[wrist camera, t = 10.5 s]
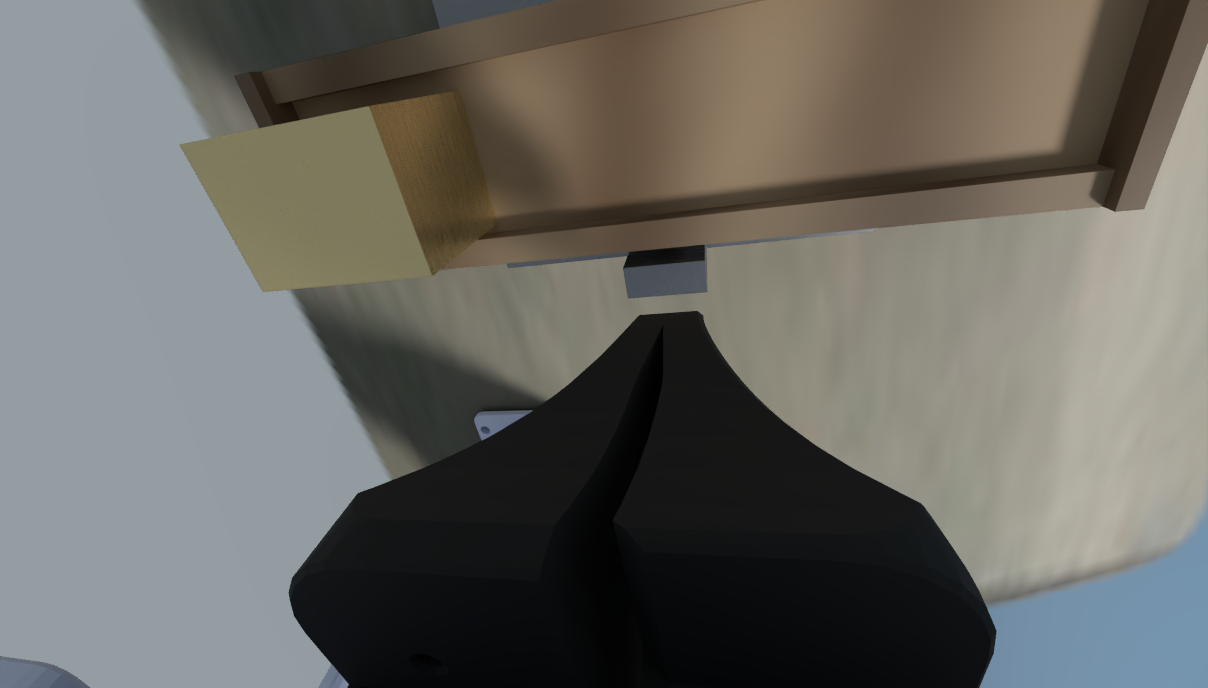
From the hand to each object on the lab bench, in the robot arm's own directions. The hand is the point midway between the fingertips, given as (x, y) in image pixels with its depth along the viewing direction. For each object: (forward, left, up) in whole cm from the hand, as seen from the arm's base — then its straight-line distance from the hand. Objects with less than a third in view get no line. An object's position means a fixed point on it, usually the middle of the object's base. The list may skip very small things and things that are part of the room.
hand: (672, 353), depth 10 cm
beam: (+4, 0, -6) cm, 7 cm away
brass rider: (+4, +8, -5) cm, 10 cm away
